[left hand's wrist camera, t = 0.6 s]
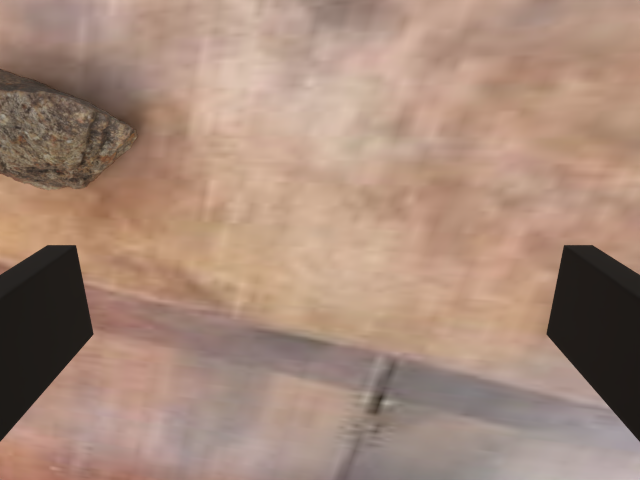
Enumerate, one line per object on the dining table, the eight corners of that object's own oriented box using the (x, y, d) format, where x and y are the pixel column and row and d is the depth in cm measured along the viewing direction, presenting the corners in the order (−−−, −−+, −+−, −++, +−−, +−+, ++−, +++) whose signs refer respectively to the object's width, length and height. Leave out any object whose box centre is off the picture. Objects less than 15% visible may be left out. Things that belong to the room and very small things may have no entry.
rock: (-13, 30, 36) (-35, 145, 39) (-120, 14, 28) (-137, 160, 31) (156, 111, 37) (122, 216, 40) (101, 117, 29) (63, 249, 32)
